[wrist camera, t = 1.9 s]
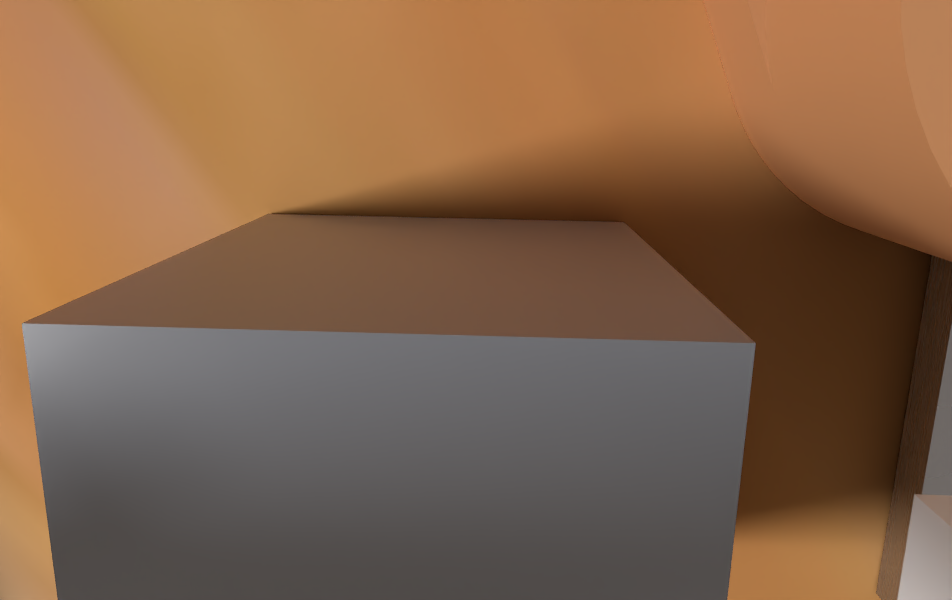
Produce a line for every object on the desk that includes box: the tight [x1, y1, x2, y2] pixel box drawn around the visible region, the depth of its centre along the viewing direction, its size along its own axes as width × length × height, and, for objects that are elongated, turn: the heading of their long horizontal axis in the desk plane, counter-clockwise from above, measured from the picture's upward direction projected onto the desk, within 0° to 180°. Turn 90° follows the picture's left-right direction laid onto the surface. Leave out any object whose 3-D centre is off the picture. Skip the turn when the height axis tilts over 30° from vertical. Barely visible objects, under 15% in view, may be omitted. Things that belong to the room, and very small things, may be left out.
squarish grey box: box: [22, 214, 756, 600], centre depth 12 cm, size 7×7×8 cm
